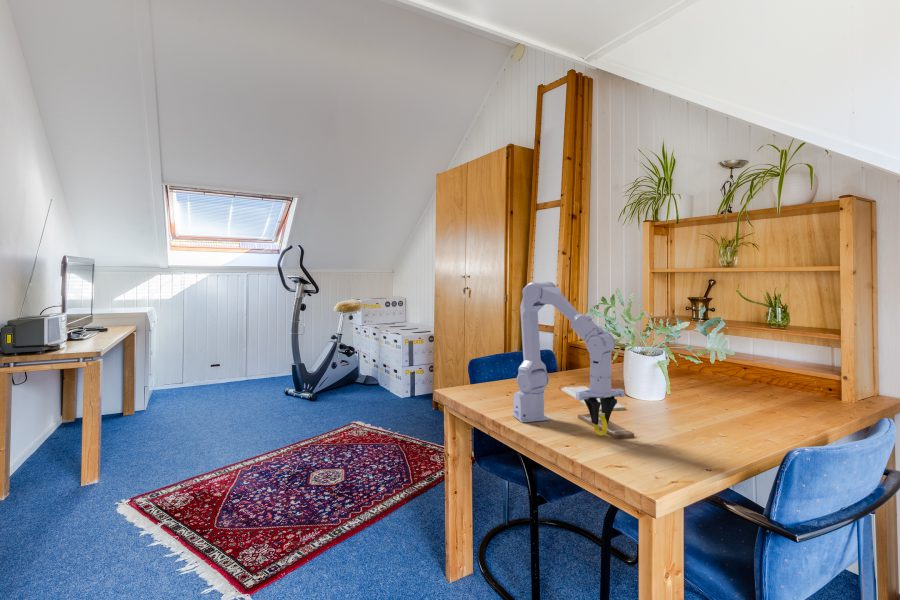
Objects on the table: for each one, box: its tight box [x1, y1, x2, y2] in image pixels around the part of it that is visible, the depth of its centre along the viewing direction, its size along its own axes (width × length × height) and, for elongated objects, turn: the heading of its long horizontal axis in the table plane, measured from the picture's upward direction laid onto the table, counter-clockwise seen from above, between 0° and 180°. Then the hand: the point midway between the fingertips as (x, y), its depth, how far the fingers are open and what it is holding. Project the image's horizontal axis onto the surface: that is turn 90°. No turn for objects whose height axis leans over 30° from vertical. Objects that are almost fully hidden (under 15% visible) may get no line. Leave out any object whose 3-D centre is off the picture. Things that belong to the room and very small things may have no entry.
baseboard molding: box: [557, 383, 627, 412], centre depth 169 cm, size 31×3×12 cm
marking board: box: [577, 413, 635, 440], centre depth 137 cm, size 6×20×1 cm, turn 15°
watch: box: [592, 411, 607, 437], centre depth 129 cm, size 6×3×6 cm, turn 9°
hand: (599, 423), depth 129 cm, fingers closed on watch, 3 cm apart
